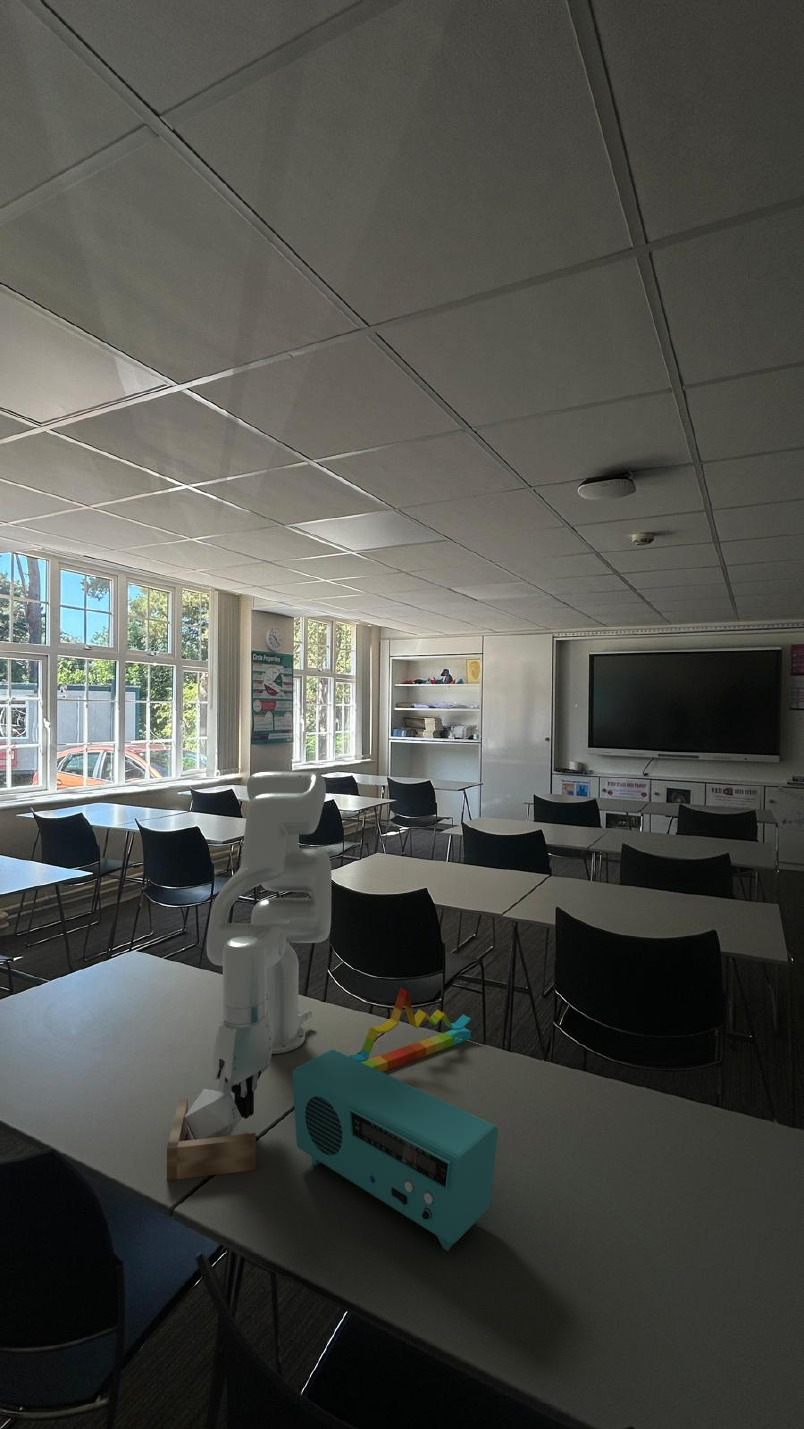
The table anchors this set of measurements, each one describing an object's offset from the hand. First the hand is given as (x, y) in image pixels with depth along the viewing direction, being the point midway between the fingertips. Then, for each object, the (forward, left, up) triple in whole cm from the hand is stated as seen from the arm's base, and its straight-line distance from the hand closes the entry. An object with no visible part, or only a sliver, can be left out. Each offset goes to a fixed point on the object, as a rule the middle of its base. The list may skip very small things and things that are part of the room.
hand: (244, 1113), depth 118 cm
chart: (-38, +10, -3) cm, 40 cm away
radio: (-1, +30, -3) cm, 30 cm away
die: (+5, -2, -3) cm, 6 cm away
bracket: (+11, 0, -3) cm, 11 cm away
